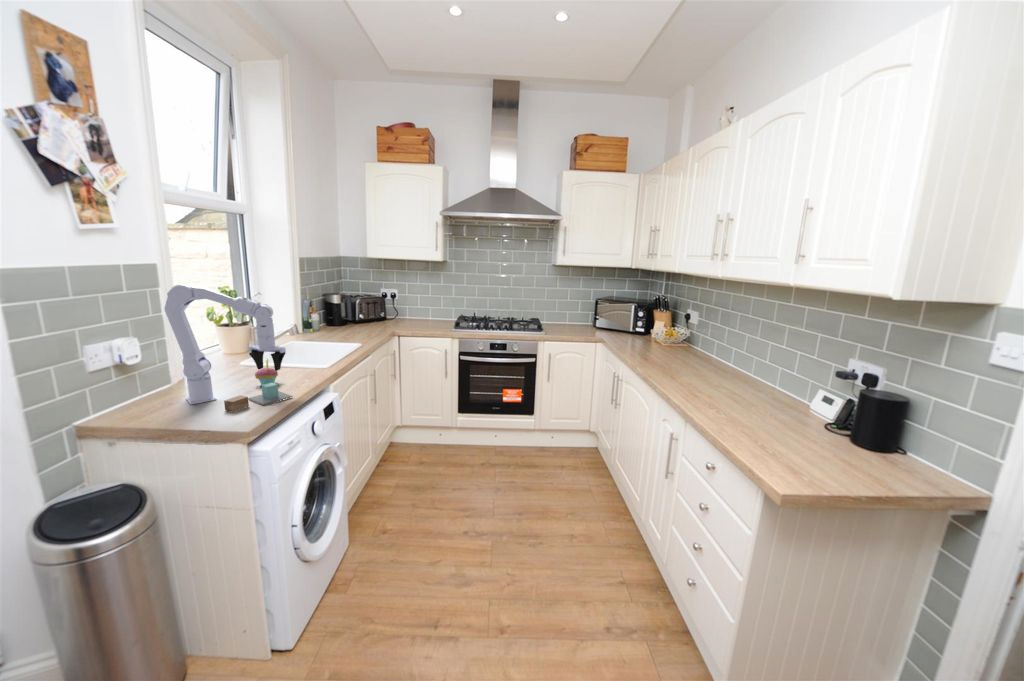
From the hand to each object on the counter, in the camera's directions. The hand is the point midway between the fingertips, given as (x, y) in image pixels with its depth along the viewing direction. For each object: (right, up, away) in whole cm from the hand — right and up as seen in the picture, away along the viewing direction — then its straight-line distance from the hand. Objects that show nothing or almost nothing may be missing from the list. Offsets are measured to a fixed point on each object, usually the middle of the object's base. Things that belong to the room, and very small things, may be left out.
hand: (269, 369), depth 161 cm
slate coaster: (+3, -11, -3) cm, 12 cm away
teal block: (+3, -11, -4) cm, 12 cm away
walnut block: (-3, -14, -14) cm, 20 cm away
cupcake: (-9, -8, +14) cm, 19 cm away
